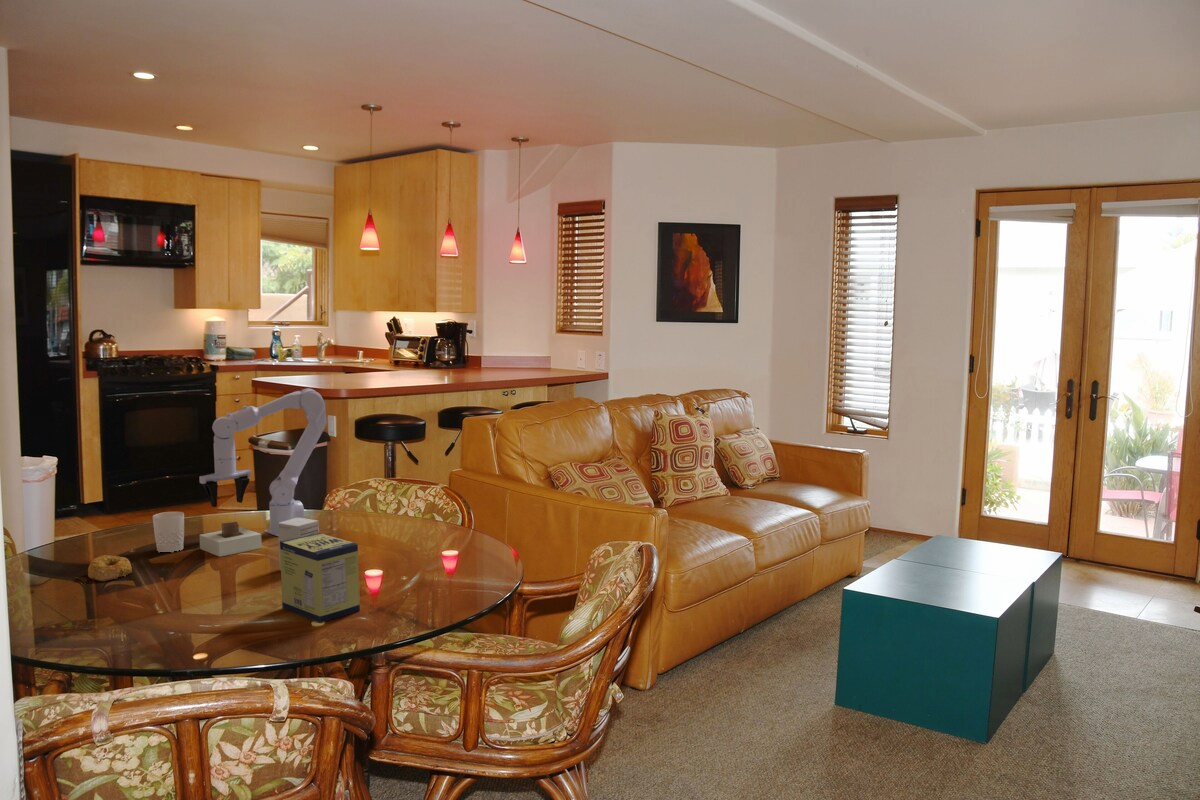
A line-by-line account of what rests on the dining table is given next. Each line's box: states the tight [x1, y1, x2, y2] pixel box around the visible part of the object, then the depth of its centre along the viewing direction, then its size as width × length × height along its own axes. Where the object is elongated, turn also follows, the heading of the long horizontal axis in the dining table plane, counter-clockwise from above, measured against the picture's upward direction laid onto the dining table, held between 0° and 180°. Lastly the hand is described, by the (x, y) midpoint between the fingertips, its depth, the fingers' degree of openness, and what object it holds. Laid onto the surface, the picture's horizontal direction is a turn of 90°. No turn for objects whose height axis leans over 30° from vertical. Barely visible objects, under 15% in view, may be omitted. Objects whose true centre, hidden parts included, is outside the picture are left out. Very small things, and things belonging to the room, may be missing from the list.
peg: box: [221, 521, 240, 538], centre depth 252 cm, size 4×4×7 cm
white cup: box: [152, 511, 185, 553], centre depth 250 cm, size 8×8×10 cm
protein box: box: [280, 532, 361, 624], centre depth 201 cm, size 10×16×16 cm
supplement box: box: [278, 517, 320, 571], centre depth 232 cm, size 7×7×13 cm
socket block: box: [199, 526, 263, 558], centre depth 252 cm, size 12×12×4 cm
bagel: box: [87, 554, 133, 582], centre depth 227 cm, size 10×11×5 cm
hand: (227, 504), depth 263 cm, fingers open, 7 cm apart
